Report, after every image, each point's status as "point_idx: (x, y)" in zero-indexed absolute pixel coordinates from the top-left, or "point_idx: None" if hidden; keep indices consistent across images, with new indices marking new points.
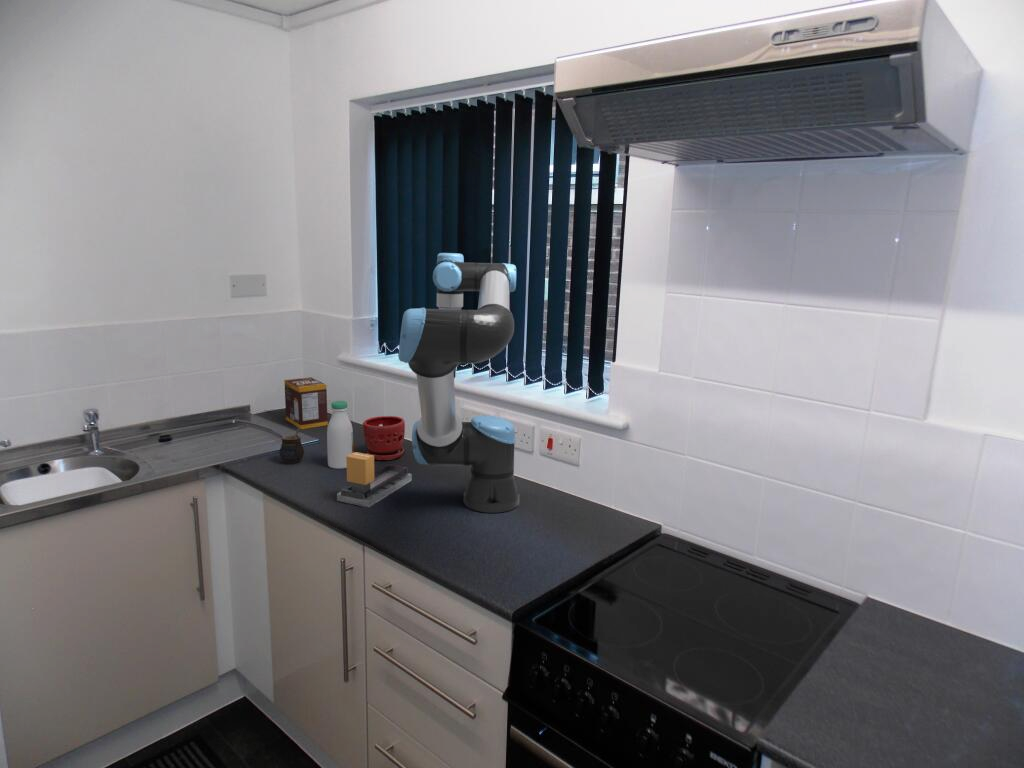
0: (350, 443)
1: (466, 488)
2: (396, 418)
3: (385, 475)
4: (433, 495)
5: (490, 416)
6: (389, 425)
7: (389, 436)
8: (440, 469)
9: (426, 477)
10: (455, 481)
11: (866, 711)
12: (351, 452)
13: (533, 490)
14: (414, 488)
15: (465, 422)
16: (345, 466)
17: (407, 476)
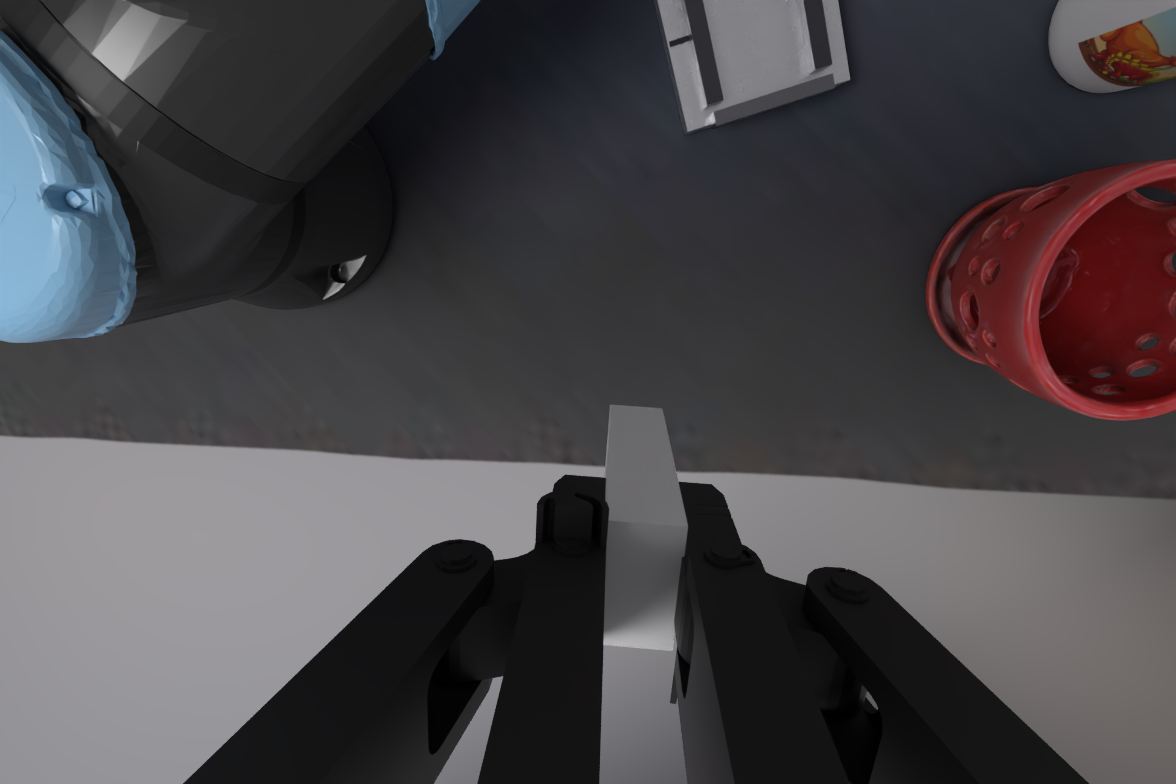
0: (1148, 2)
1: (352, 143)
2: (1128, 403)
3: (770, 20)
4: (491, 76)
5: (21, 259)
6: (1141, 379)
7: (1008, 239)
8: (684, 322)
9: (662, 210)
10: (540, 263)
11: None
12: (1101, 28)
13: (275, 396)
14: (608, 74)
15: (68, 31)
16: (1059, 1)
17: (680, 92)
